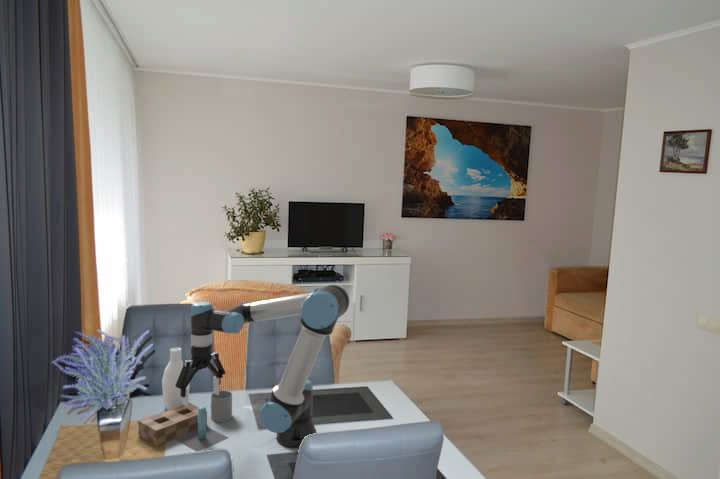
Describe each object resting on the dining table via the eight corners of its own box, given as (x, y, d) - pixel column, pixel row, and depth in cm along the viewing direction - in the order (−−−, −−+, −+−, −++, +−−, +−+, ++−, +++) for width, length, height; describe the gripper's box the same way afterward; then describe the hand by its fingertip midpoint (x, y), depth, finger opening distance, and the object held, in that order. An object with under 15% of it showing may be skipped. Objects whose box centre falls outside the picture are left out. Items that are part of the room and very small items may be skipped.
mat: (228, 438, 204) (228, 437, 204) (197, 452, 193) (197, 451, 193) (206, 427, 212) (206, 426, 212) (174, 440, 202) (174, 439, 201)
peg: (207, 438, 203) (207, 407, 202) (201, 441, 201) (200, 410, 199) (203, 435, 205) (202, 405, 203) (196, 438, 202) (196, 408, 201)
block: (206, 425, 214) (206, 411, 213) (156, 446, 197) (156, 430, 196) (188, 416, 221) (188, 402, 220) (138, 435, 204) (138, 420, 203)
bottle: (179, 399, 238) (178, 343, 235) (195, 406, 231) (194, 348, 228) (156, 407, 229) (156, 349, 226) (172, 414, 222) (172, 355, 219)
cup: (226, 423, 216) (226, 400, 215) (207, 421, 217) (207, 397, 216) (235, 414, 224) (235, 391, 223) (217, 412, 226) (217, 389, 225)
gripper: (222, 334, 210) (221, 386, 213) (165, 349, 191) (165, 406, 193) (235, 339, 206) (234, 392, 209) (177, 354, 186) (177, 412, 189)
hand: (201, 399), depth 201 cm, fingers open, 13 cm apart
